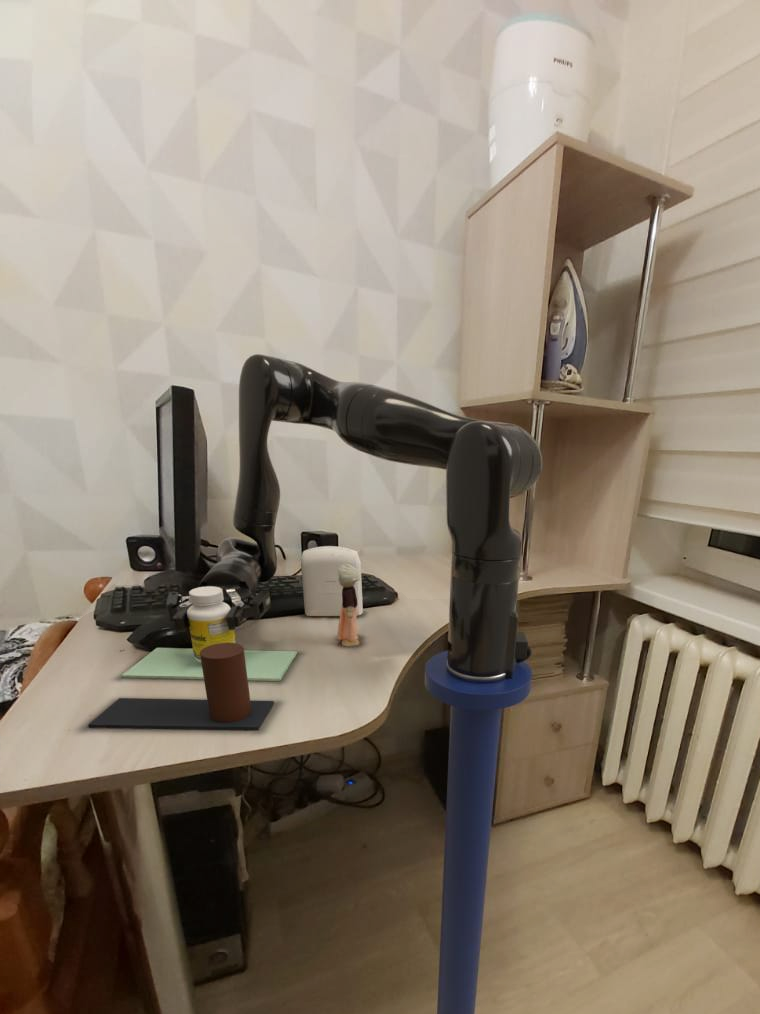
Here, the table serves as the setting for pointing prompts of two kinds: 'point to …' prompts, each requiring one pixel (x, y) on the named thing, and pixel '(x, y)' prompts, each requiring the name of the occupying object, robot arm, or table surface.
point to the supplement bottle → (208, 619)
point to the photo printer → (327, 579)
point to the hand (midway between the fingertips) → (206, 623)
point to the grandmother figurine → (348, 605)
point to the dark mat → (174, 715)
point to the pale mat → (187, 667)
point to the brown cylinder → (226, 682)
